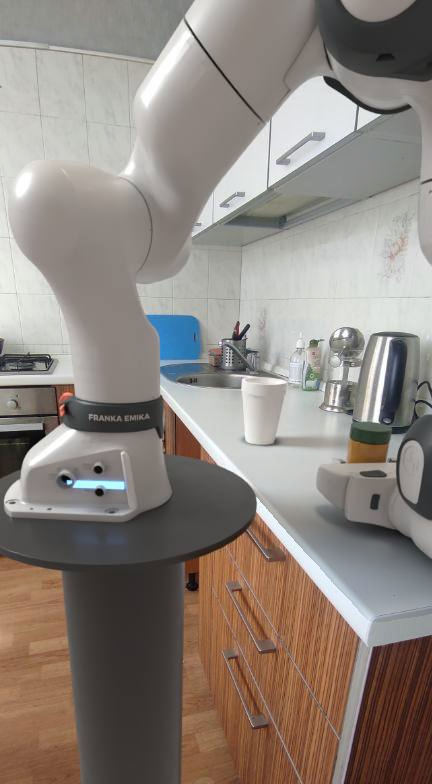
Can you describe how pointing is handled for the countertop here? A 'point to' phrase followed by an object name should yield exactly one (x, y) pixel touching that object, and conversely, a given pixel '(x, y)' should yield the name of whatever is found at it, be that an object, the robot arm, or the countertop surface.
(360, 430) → the lid
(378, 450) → the jar
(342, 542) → the countertop surface
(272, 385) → the foam cup
